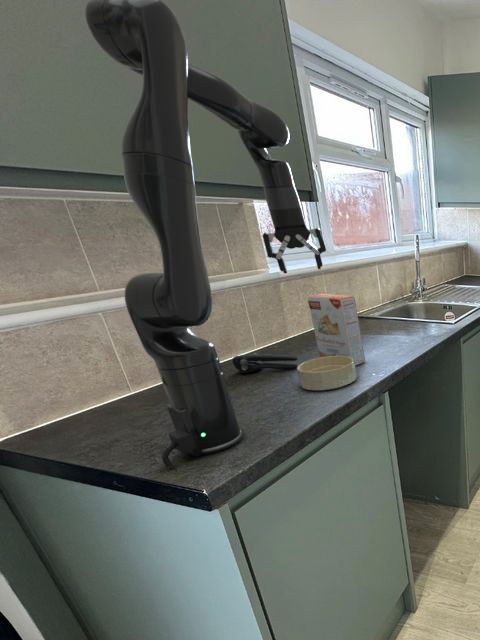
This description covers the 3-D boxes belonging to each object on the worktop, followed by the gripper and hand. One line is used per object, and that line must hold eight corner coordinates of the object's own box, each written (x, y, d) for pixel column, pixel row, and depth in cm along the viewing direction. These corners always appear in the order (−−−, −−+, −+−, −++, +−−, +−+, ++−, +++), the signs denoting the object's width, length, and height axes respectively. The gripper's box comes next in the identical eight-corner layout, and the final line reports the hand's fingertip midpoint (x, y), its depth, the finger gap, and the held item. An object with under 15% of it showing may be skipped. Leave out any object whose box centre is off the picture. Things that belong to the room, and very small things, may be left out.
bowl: (322, 396, 105) (318, 375, 103) (290, 386, 112) (286, 367, 110) (367, 378, 116) (364, 360, 114) (336, 370, 123) (332, 352, 121)
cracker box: (319, 362, 131) (305, 295, 123) (335, 357, 136) (322, 292, 128) (351, 368, 125) (338, 298, 117) (366, 362, 130) (355, 295, 122)
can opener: (231, 376, 121) (225, 358, 119) (241, 368, 127) (236, 351, 125) (295, 372, 123) (291, 354, 121) (302, 364, 129) (298, 347, 127)
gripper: (251, 210, 100) (273, 277, 108) (314, 205, 105) (331, 269, 113) (255, 207, 106) (275, 271, 114) (314, 203, 111) (330, 264, 119)
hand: (302, 270), depth 113 cm, fingers open, 8 cm apart
